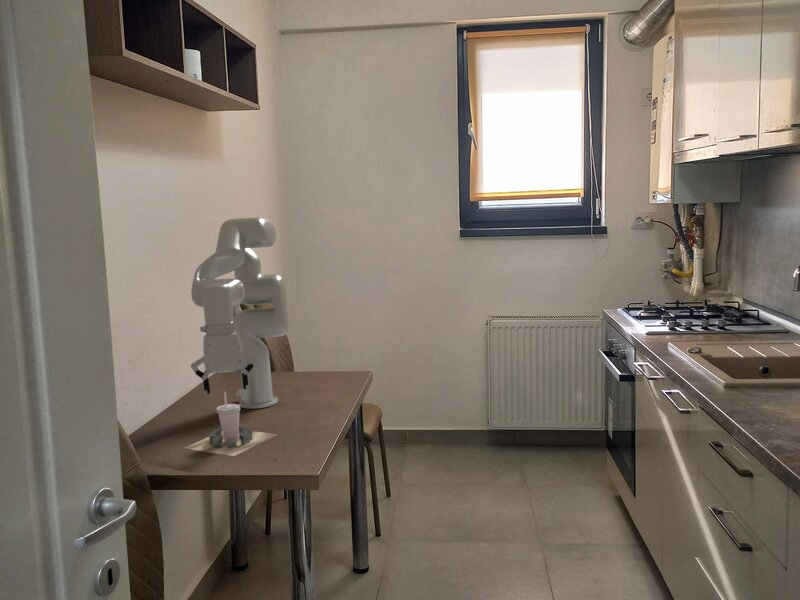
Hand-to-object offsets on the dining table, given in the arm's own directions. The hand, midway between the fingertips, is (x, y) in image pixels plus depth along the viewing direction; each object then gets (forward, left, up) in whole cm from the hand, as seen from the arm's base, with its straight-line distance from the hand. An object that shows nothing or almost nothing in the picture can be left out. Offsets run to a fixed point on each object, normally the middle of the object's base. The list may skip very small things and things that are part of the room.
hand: (226, 390), depth 203 cm
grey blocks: (0, 0, -14) cm, 14 cm away
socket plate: (0, 0, -16) cm, 16 cm away
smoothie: (0, 0, -14) cm, 14 cm away
